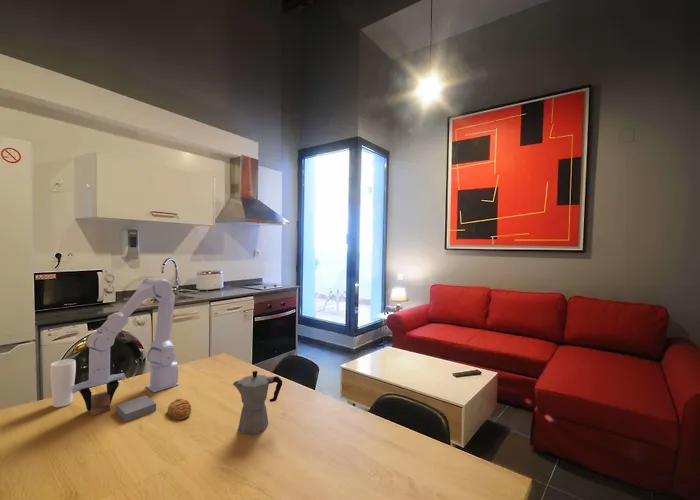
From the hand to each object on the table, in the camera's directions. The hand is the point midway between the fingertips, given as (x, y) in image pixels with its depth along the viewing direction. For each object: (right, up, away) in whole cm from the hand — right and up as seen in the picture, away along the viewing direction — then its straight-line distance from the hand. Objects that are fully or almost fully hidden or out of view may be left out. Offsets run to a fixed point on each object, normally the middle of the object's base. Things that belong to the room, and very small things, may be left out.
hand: (98, 406), depth 109 cm
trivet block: (+13, -2, 0) cm, 13 cm away
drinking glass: (-15, -1, +3) cm, 16 cm away
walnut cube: (0, -1, 0) cm, 1 cm away
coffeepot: (+56, -4, -6) cm, 57 cm away
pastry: (+28, -3, 0) cm, 28 cm away
